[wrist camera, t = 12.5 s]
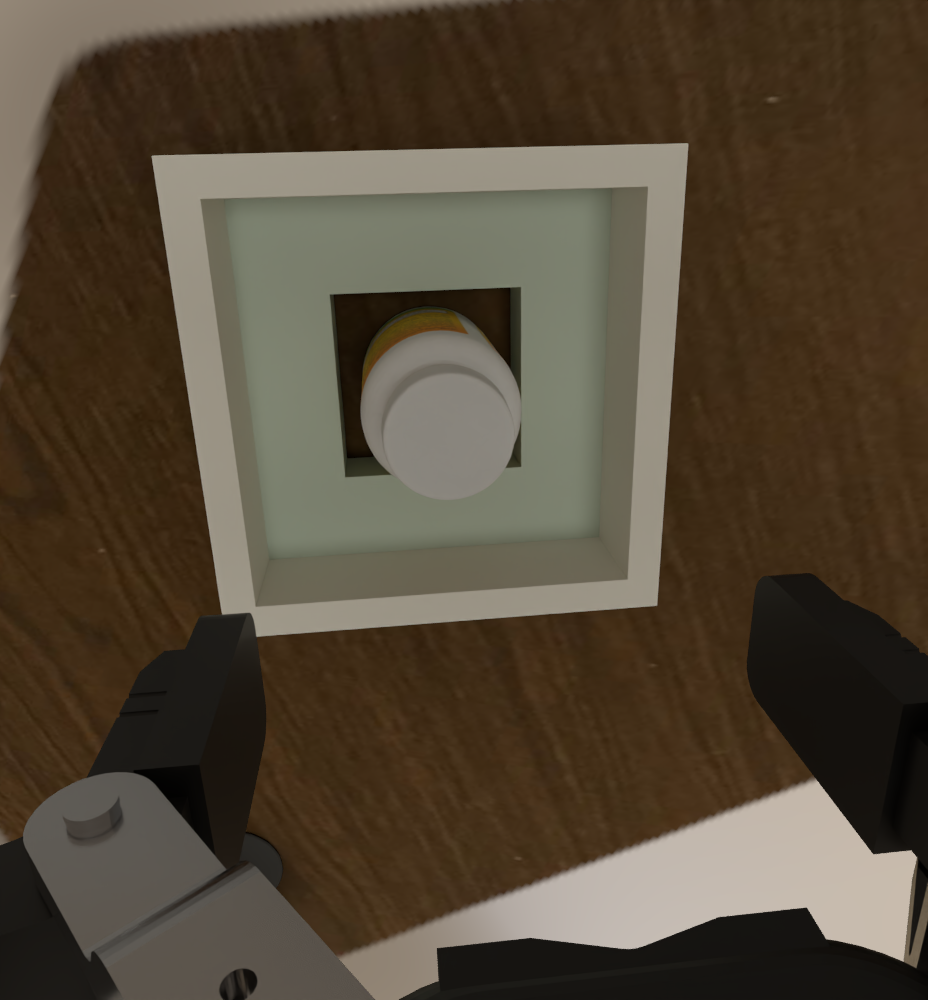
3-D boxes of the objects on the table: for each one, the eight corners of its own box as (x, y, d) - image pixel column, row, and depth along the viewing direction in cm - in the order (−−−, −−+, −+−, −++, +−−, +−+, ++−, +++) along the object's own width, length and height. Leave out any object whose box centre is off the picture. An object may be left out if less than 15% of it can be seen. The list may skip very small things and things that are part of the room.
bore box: (625, 154, 30) (688, 143, 24) (609, 537, 36) (657, 605, 30) (198, 165, 29) (151, 155, 23) (251, 562, 35) (225, 639, 28)
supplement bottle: (339, 395, 32) (324, 472, 23) (404, 278, 31) (415, 312, 22) (451, 456, 34) (478, 551, 25) (518, 347, 32) (573, 406, 23)
